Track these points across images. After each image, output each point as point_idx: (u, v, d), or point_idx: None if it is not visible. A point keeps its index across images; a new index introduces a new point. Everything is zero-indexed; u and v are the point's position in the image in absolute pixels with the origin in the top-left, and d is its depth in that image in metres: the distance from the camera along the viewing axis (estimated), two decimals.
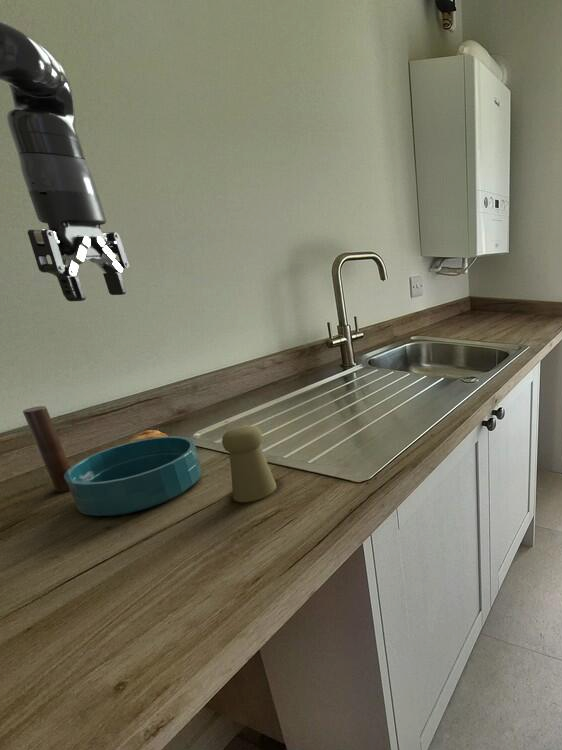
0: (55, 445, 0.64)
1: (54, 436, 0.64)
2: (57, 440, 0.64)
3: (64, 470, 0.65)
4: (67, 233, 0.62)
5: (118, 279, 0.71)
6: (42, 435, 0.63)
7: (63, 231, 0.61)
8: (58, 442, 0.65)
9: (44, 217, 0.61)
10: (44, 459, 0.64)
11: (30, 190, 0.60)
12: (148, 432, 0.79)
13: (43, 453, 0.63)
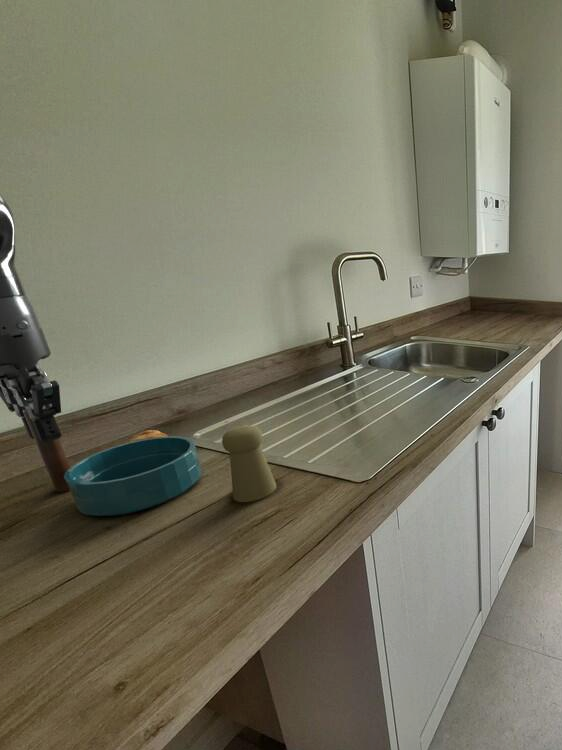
0: (55, 445, 0.64)
1: None
2: (57, 440, 0.64)
3: (64, 470, 0.65)
4: None
5: None
6: None
7: (42, 372, 0.60)
8: (58, 442, 0.65)
9: (16, 360, 0.58)
10: (44, 459, 0.64)
11: None
12: (148, 432, 0.79)
13: (43, 453, 0.63)
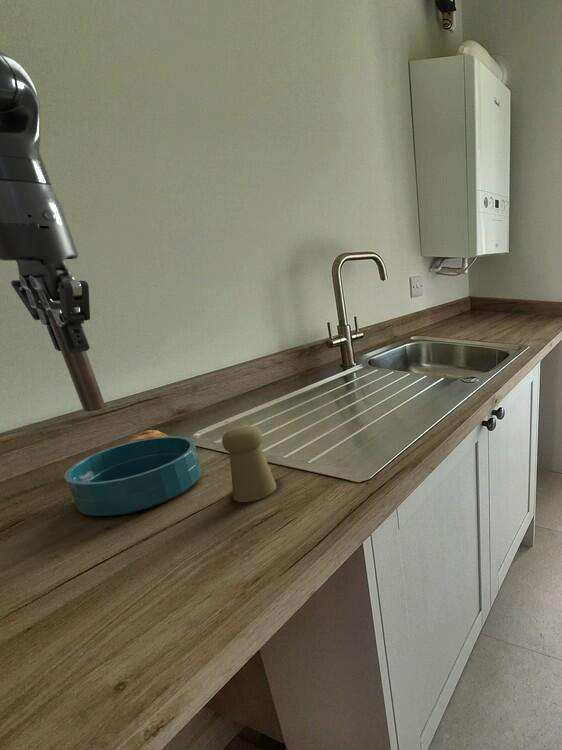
0: (83, 358, 0.59)
1: None
2: (85, 353, 0.59)
3: (92, 387, 0.60)
4: None
5: None
6: None
7: (70, 272, 0.55)
8: (86, 356, 0.60)
9: (42, 254, 0.52)
10: (71, 373, 0.59)
11: (19, 222, 0.51)
12: (148, 432, 0.79)
13: (70, 366, 0.58)
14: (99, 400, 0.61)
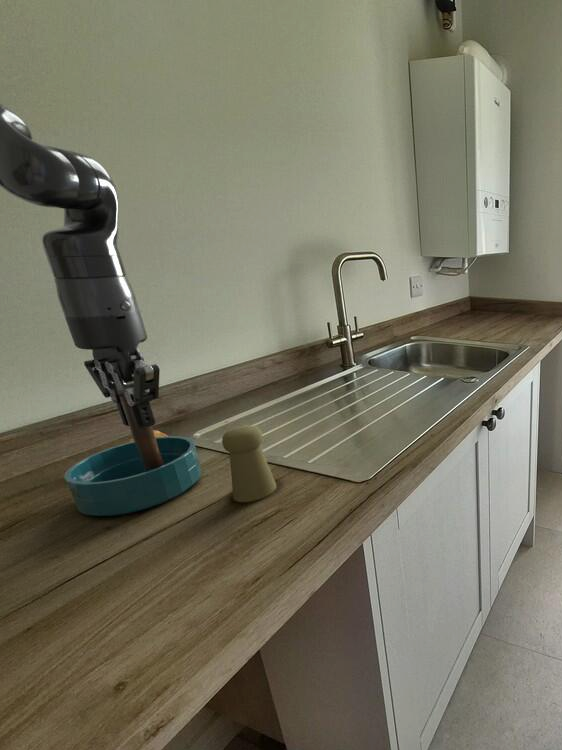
0: (149, 432, 0.62)
1: None
2: (150, 427, 0.62)
3: (156, 458, 0.63)
4: None
5: None
6: None
7: (142, 356, 0.58)
8: (151, 429, 0.62)
9: (119, 342, 0.55)
10: (138, 447, 0.62)
11: (100, 316, 0.54)
12: None
13: (137, 440, 0.61)
14: None
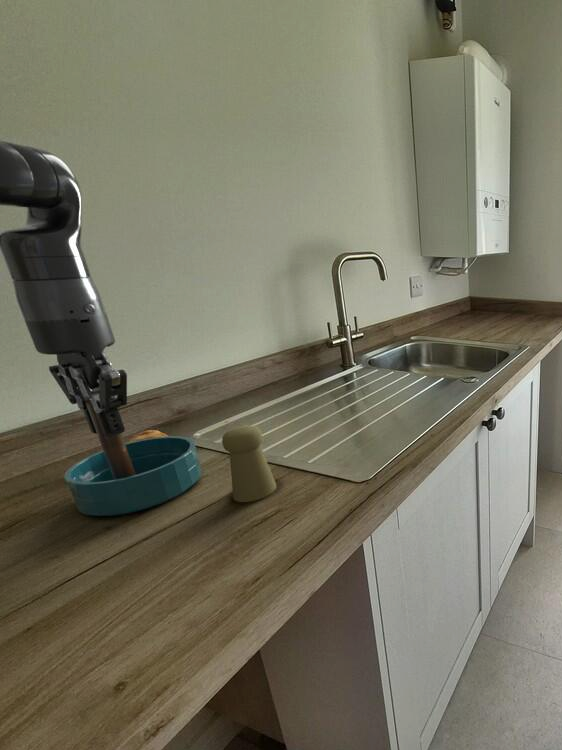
0: (118, 440, 0.60)
1: None
2: (120, 434, 0.60)
3: (127, 467, 0.61)
4: None
5: None
6: None
7: (109, 361, 0.55)
8: (121, 437, 0.60)
9: (83, 347, 0.53)
10: (107, 455, 0.59)
11: (61, 319, 0.51)
12: (148, 432, 0.79)
13: (106, 448, 0.59)
14: None
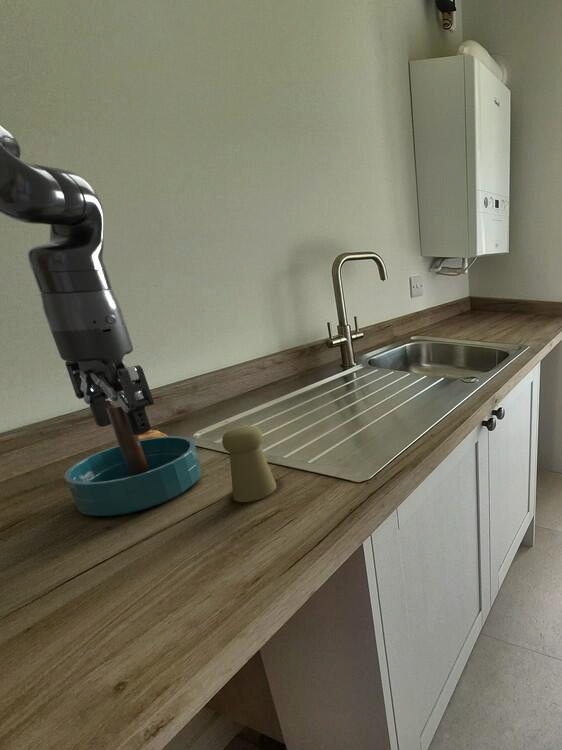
0: (135, 442, 0.63)
1: None
2: (137, 437, 0.63)
3: (143, 468, 0.64)
4: None
5: None
6: (123, 432, 0.62)
7: (126, 365, 0.59)
8: (138, 439, 0.64)
9: (104, 355, 0.56)
10: (125, 456, 0.63)
11: (85, 329, 0.55)
12: (148, 432, 0.79)
13: (124, 450, 0.62)
14: None
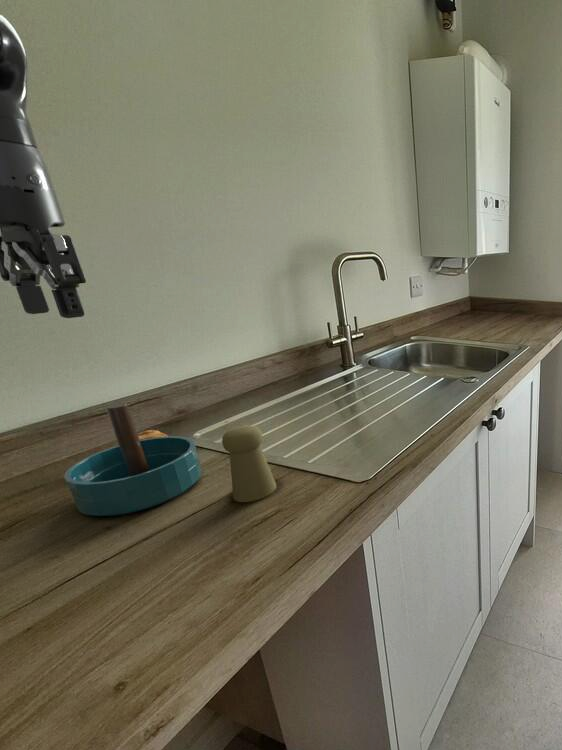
0: (135, 442, 0.63)
1: (134, 433, 0.63)
2: (137, 437, 0.63)
3: (143, 468, 0.64)
4: None
5: (42, 293, 0.57)
6: (123, 432, 0.62)
7: None
8: (138, 439, 0.64)
9: (26, 219, 0.50)
10: (125, 456, 0.63)
11: (2, 185, 0.48)
12: (148, 432, 0.79)
13: (124, 450, 0.62)
14: None
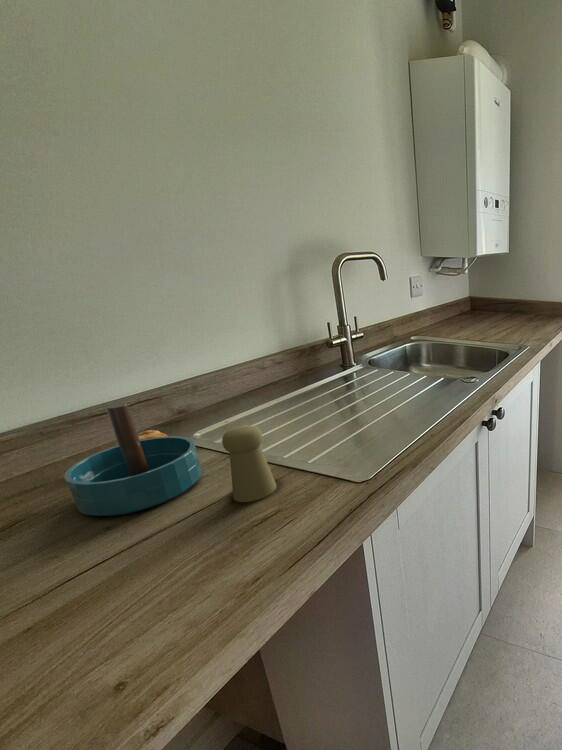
0: (135, 442, 0.63)
1: (134, 433, 0.63)
2: (137, 437, 0.63)
3: (143, 468, 0.64)
4: None
5: None
6: (123, 432, 0.62)
7: None
8: (138, 439, 0.64)
9: None
10: (125, 456, 0.63)
11: None
12: (148, 432, 0.79)
13: (124, 450, 0.62)
14: None
